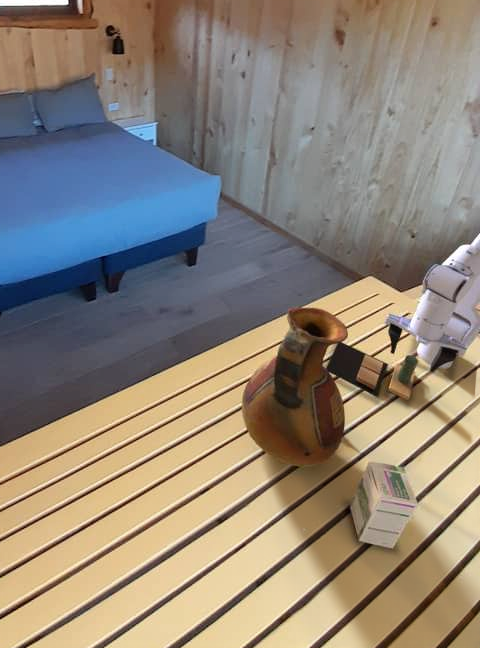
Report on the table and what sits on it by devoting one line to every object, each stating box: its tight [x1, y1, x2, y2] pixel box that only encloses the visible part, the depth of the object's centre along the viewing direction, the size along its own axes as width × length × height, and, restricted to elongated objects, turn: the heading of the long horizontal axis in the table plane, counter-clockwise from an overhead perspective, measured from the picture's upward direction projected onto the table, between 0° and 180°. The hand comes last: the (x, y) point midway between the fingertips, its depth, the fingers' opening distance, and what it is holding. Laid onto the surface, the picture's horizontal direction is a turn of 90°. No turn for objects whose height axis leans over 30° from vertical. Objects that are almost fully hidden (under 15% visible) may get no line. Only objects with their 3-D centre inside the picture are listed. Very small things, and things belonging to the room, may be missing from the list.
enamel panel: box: [325, 342, 389, 398], centre depth 100 cm, size 12×12×2 cm
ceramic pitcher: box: [241, 306, 349, 467], centre depth 81 cm, size 20×20×30 cm
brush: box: [387, 354, 419, 401], centre depth 94 cm, size 9×4×10 cm, turn 139°
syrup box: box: [349, 461, 419, 549], centre depth 69 cm, size 6×6×14 cm
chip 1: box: [361, 354, 384, 375], centre depth 100 cm, size 4×4×1 cm
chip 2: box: [356, 366, 379, 389], centre depth 97 cm, size 4×4×1 cm
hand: (411, 359), depth 92 cm, fingers open, 7 cm apart
